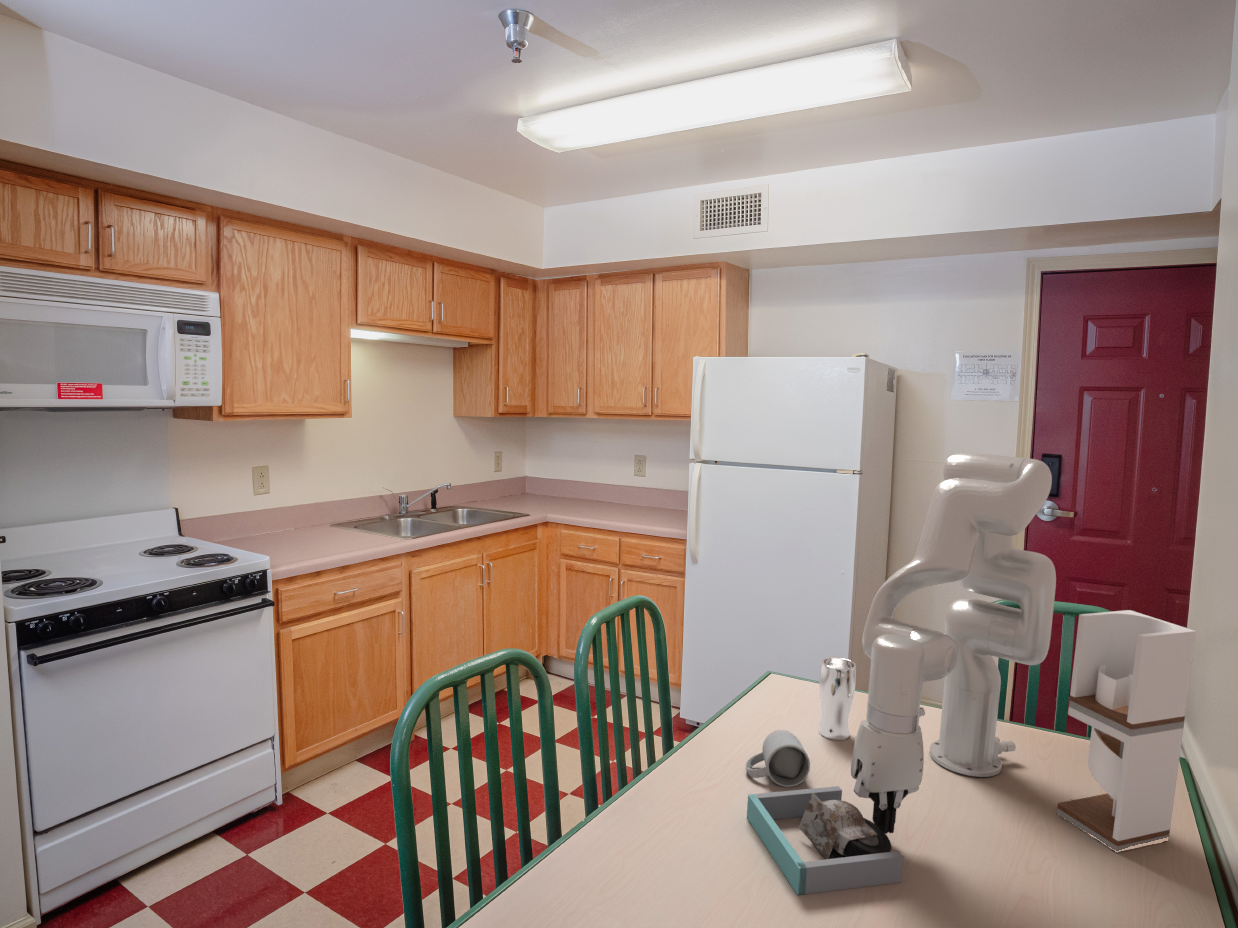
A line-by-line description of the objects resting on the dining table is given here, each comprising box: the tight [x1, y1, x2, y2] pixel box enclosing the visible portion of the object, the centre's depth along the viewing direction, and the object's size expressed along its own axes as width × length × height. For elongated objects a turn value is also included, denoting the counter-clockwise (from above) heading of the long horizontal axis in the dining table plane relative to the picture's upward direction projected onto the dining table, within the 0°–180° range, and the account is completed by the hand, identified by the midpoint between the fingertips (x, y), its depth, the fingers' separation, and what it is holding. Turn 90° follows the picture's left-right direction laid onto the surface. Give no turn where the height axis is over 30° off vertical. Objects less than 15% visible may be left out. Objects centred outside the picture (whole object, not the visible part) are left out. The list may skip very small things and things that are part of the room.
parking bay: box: [746, 785, 904, 896], centre depth 113 cm, size 16×18×4 cm
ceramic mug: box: [745, 729, 811, 788], centre depth 133 cm, size 11×8×8 cm
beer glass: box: [818, 656, 857, 741], centre depth 149 cm, size 7×7×15 cm
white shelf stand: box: [1056, 609, 1197, 851], centre depth 119 cm, size 11×11×35 cm
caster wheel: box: [798, 793, 892, 859], centre depth 112 cm, size 7×11×10 cm
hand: (883, 827), depth 115 cm, fingers closed
